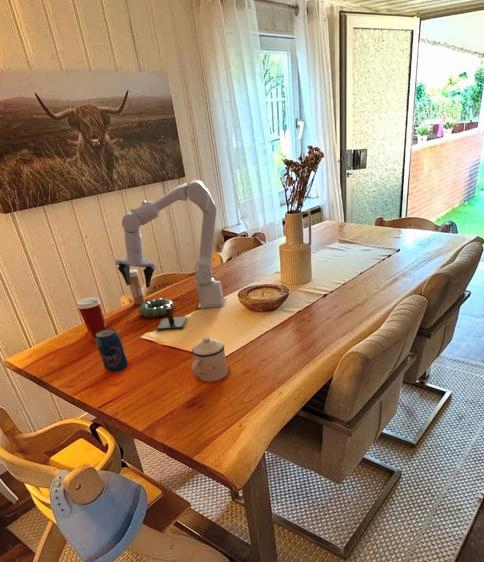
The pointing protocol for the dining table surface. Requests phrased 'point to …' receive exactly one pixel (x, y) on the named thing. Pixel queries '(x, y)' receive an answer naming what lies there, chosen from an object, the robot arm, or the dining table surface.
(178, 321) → the holder
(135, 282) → the sprinkles bottle
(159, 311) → the ring
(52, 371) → the dining table surface
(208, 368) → the teacup with lid
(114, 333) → the soda can
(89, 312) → the paper cup
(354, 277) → the dining table surface
